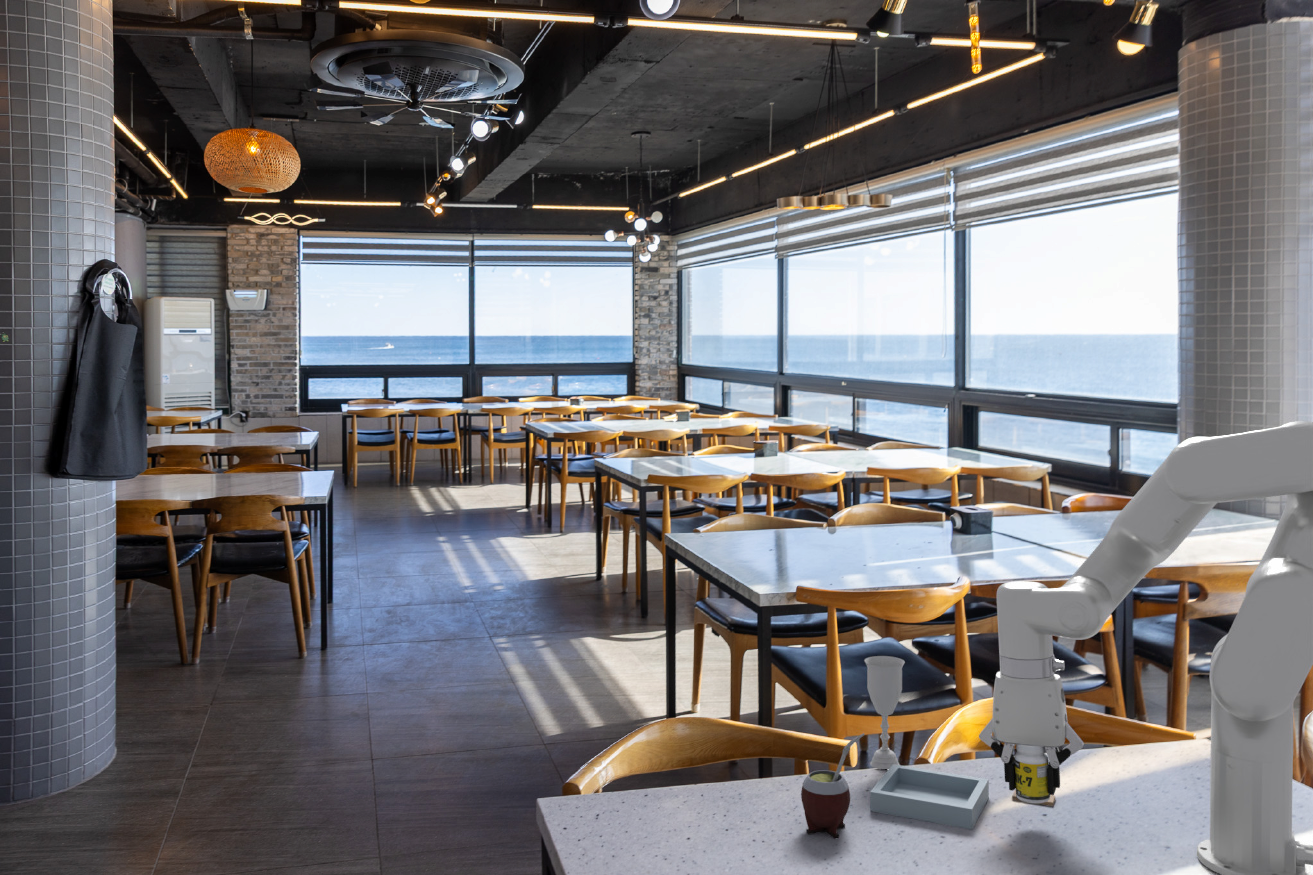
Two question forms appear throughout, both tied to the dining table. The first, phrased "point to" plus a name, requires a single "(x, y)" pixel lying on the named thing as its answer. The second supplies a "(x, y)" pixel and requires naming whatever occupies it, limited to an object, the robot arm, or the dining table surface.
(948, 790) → the tray
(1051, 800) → the walnut pad
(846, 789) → the mate gourd
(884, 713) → the chalice
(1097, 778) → the dining table surface
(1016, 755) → the supplement bottle
